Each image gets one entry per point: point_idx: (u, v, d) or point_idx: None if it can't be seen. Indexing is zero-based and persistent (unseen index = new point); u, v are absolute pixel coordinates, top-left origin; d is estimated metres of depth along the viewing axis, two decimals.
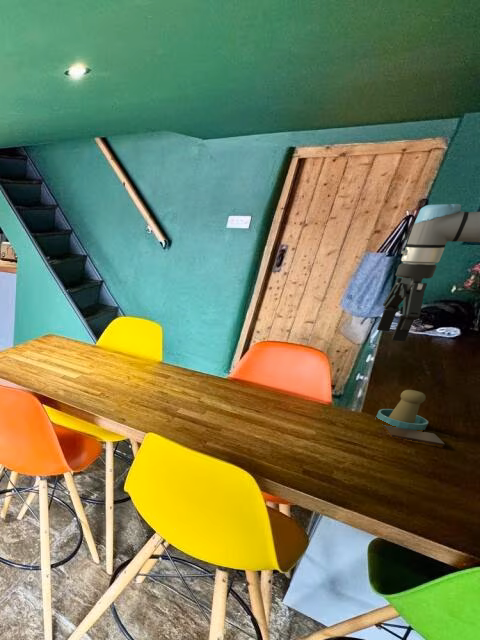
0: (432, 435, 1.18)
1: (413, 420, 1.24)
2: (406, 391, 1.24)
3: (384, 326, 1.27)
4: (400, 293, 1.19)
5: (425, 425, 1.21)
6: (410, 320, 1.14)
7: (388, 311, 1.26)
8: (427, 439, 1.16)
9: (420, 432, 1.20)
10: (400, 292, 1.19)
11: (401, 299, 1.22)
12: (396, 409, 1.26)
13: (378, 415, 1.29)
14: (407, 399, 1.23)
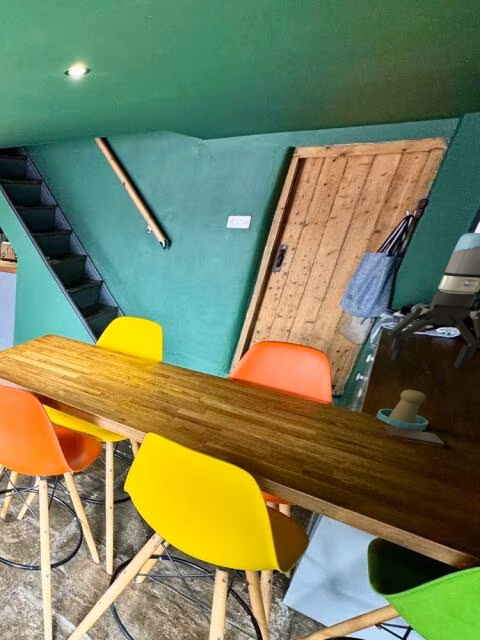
0: (432, 435, 1.18)
1: (413, 420, 1.24)
2: (406, 391, 1.24)
3: None
4: (440, 323, 1.15)
5: (425, 425, 1.21)
6: None
7: None
8: (427, 439, 1.16)
9: (420, 432, 1.20)
10: (440, 322, 1.15)
11: None
12: (396, 409, 1.26)
13: (378, 415, 1.29)
14: (406, 399, 1.23)
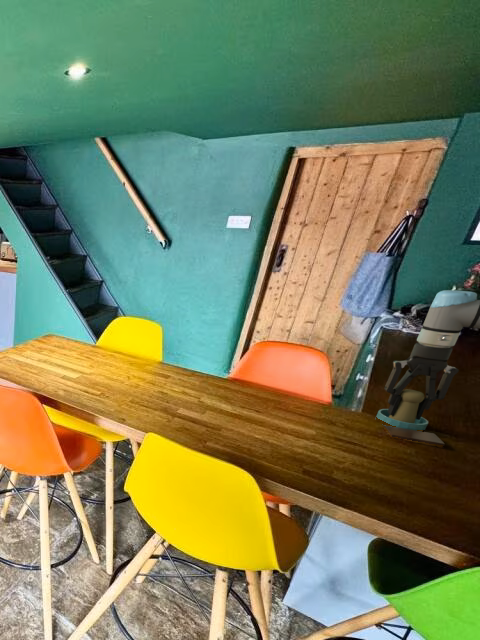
0: (432, 435, 1.18)
1: (413, 420, 1.24)
2: (405, 391, 1.24)
3: None
4: (420, 373, 1.20)
5: (425, 425, 1.21)
6: None
7: None
8: (427, 439, 1.16)
9: (420, 432, 1.20)
10: (419, 372, 1.20)
11: None
12: None
13: (378, 415, 1.29)
14: (405, 398, 1.23)
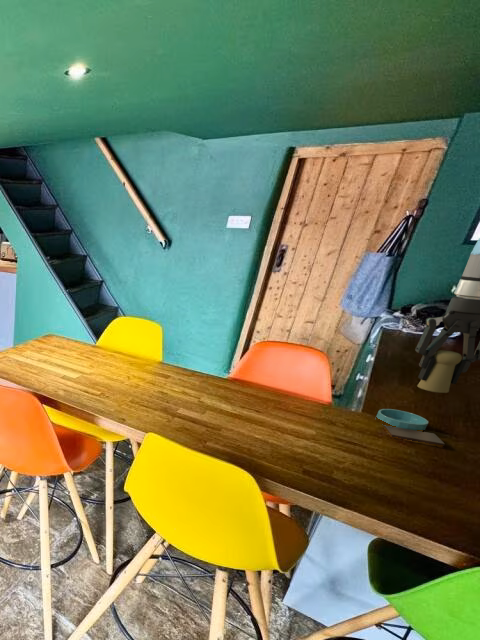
0: (432, 435, 1.18)
1: (448, 384, 1.11)
2: (439, 352, 1.11)
3: None
4: (457, 330, 1.07)
5: (425, 425, 1.21)
6: None
7: None
8: (427, 439, 1.16)
9: (420, 432, 1.20)
10: (457, 329, 1.07)
11: None
12: None
13: (378, 415, 1.29)
14: (440, 360, 1.10)
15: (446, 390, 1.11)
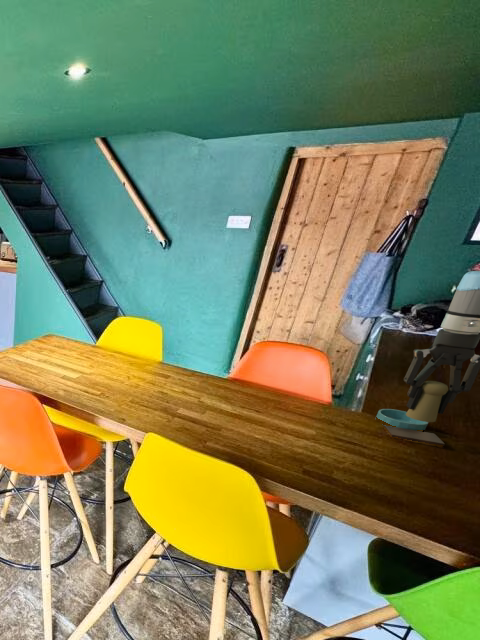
0: (432, 435, 1.18)
1: (435, 414, 1.13)
2: (426, 382, 1.14)
3: None
4: (443, 362, 1.10)
5: (425, 425, 1.21)
6: None
7: None
8: (427, 439, 1.16)
9: (420, 432, 1.20)
10: (443, 361, 1.10)
11: None
12: None
13: (378, 415, 1.29)
14: (427, 391, 1.13)
15: (433, 419, 1.14)
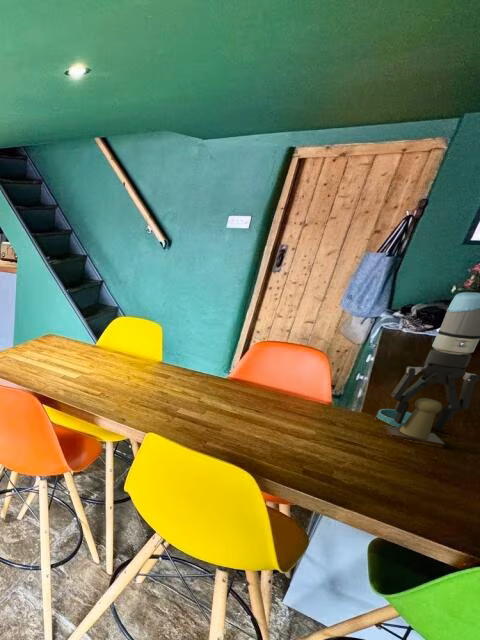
0: (432, 435, 1.18)
1: (428, 431, 1.15)
2: (421, 400, 1.15)
3: None
4: (435, 381, 1.12)
5: None
6: None
7: None
8: (427, 439, 1.16)
9: None
10: (435, 380, 1.12)
11: None
12: (410, 419, 1.18)
13: (378, 415, 1.29)
14: (421, 408, 1.15)
15: (426, 436, 1.16)
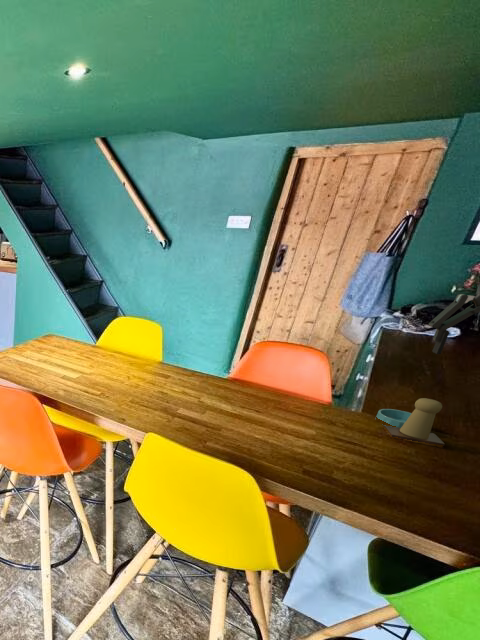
0: (432, 435, 1.18)
1: (428, 431, 1.15)
2: (421, 400, 1.15)
3: None
4: None
5: None
6: None
7: None
8: (427, 439, 1.16)
9: None
10: None
11: None
12: (410, 419, 1.18)
13: (378, 415, 1.29)
14: (421, 408, 1.15)
15: (426, 436, 1.16)
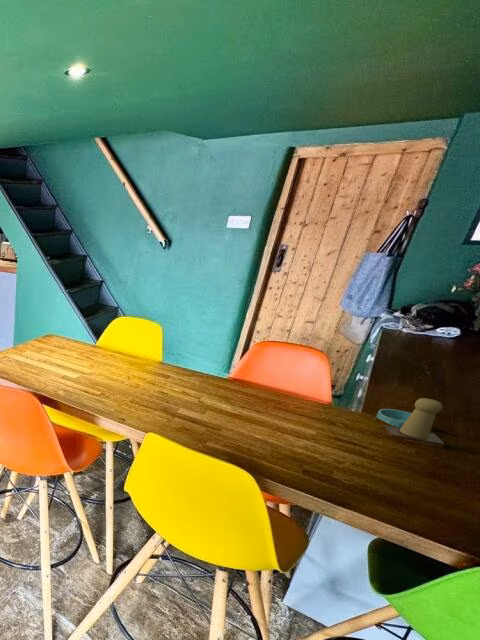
0: (432, 435, 1.18)
1: (428, 431, 1.15)
2: (421, 400, 1.15)
3: None
4: None
5: None
6: None
7: None
8: (427, 439, 1.16)
9: None
10: None
11: None
12: (410, 419, 1.18)
13: (378, 415, 1.29)
14: (421, 408, 1.15)
15: (426, 436, 1.16)
